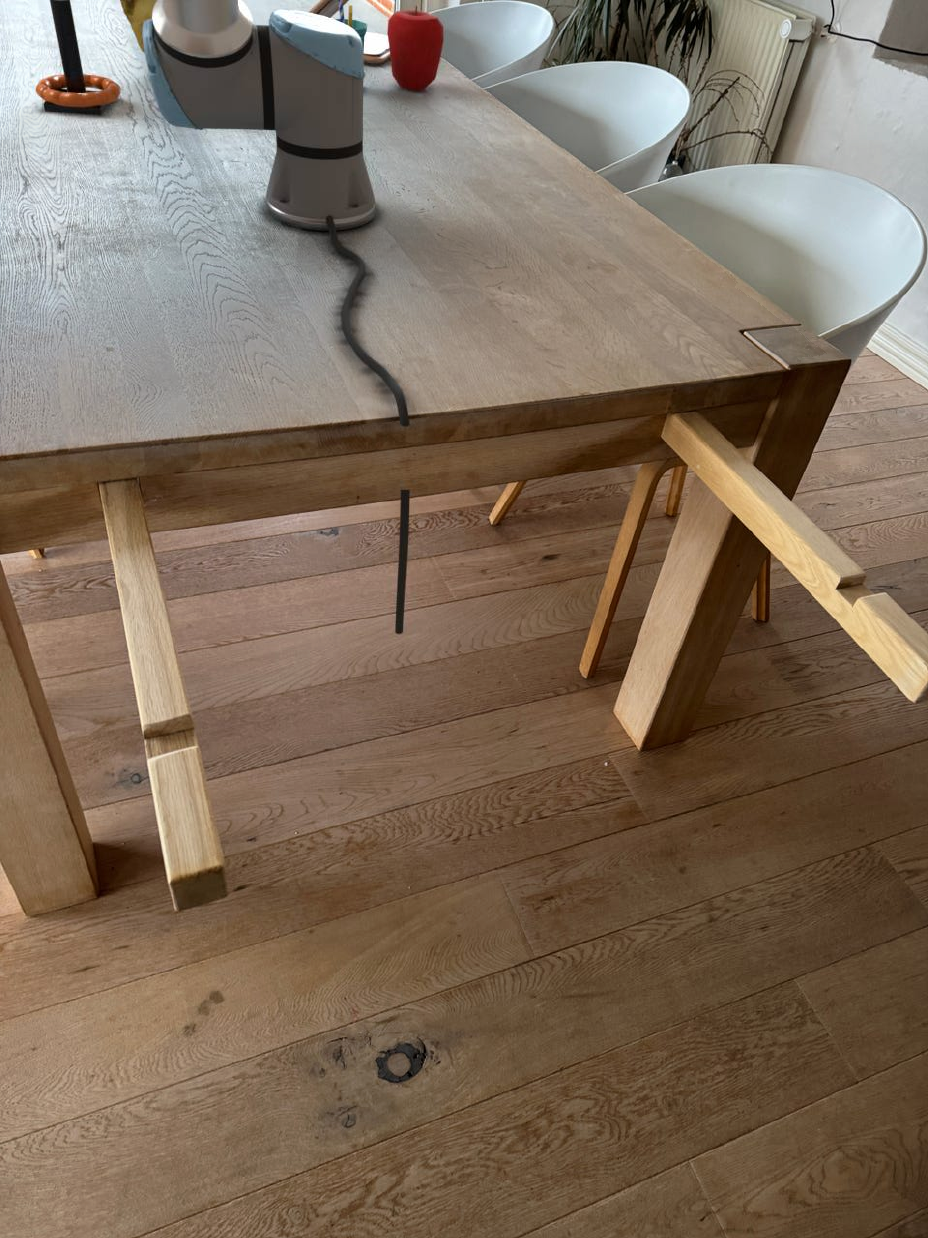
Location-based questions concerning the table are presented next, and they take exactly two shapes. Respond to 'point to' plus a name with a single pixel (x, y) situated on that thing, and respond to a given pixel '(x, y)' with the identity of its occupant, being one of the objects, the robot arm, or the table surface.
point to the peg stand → (69, 60)
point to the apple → (414, 48)
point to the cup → (352, 23)
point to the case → (374, 43)
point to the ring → (103, 97)
